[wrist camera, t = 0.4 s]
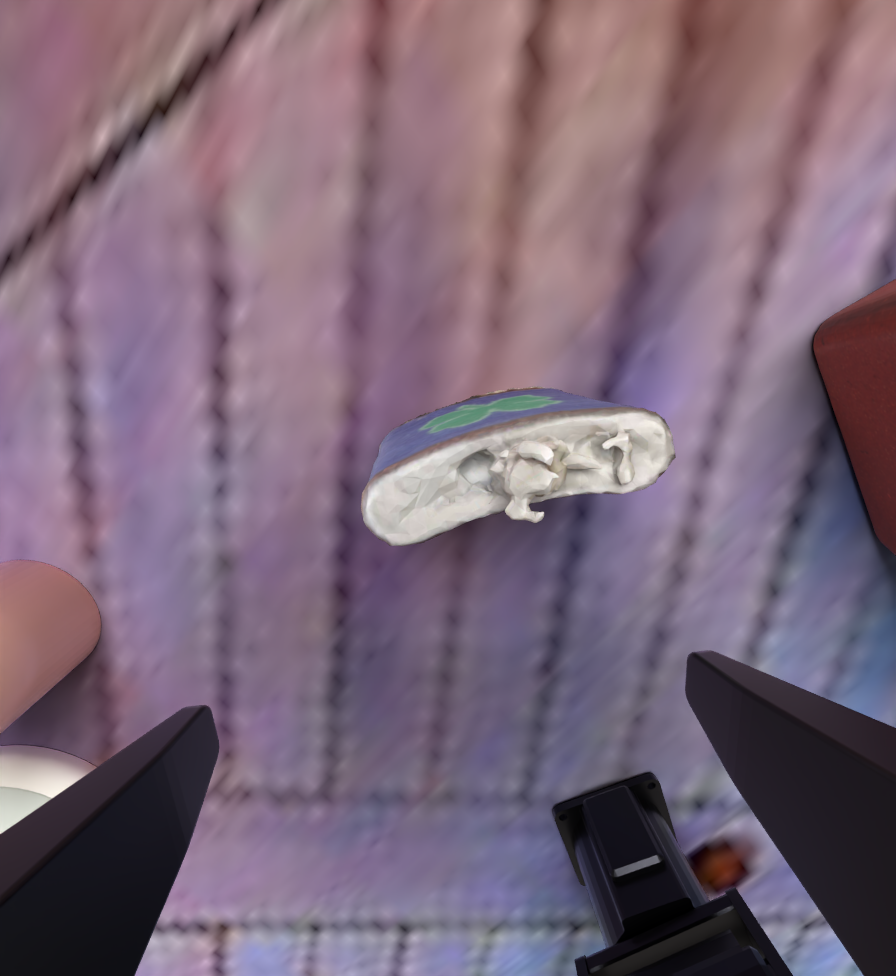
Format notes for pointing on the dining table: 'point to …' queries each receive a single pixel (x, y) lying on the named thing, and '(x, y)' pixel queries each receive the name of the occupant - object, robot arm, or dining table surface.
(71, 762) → the round white dish
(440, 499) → the flask
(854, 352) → the plant pot
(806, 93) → the dining table surface
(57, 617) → the peach domed cylinder
